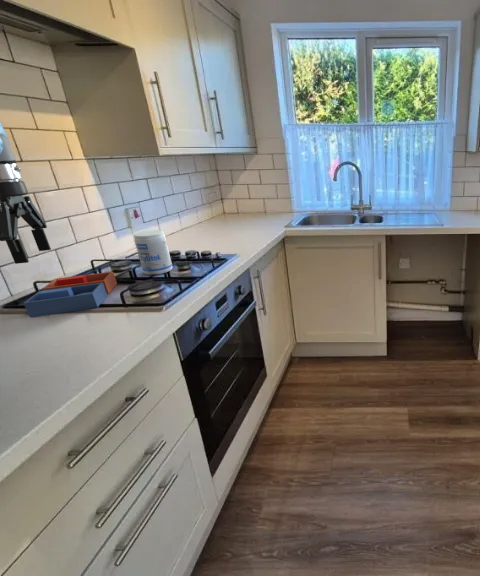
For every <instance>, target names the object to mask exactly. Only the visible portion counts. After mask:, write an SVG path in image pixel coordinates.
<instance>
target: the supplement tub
mask: <svg viewBox="0 0 480 576" xmlns="http://www.w3.org/2000/svg"><path fill="white" fill-rule="evenodd" d="M133 238H134V244H135V247H136V251H137V254H138V257H139V262H140V264H141V269H142V272H143V273H144V274H145V275H149V276H156V275H161V274H166V273H168V272H170V271H171V270H172V269H173V263H172V258H171V255H170V250H169V247H168V243H167V238H166V235H165V232H164V231H163V230H161V229H159V230H158V229H151V230H143V231H138V232H136V233H135V234H133Z"/></svg>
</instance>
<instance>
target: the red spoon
mask: <svg viewBox="0 0 480 576" xmlns="http://www.w3.org/2000/svg"><path fill="white" fill-rule="evenodd" d="M85 275H86V274H82V275H73V276H64V277H58V278H59V279H57V278H56V279H57V280H56V282H57V285H58V286H64V285H72V284H79V283H87V282H88V281H87V278H86V276H85ZM97 281H103V280H97ZM93 282H95V281H93Z"/></svg>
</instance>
